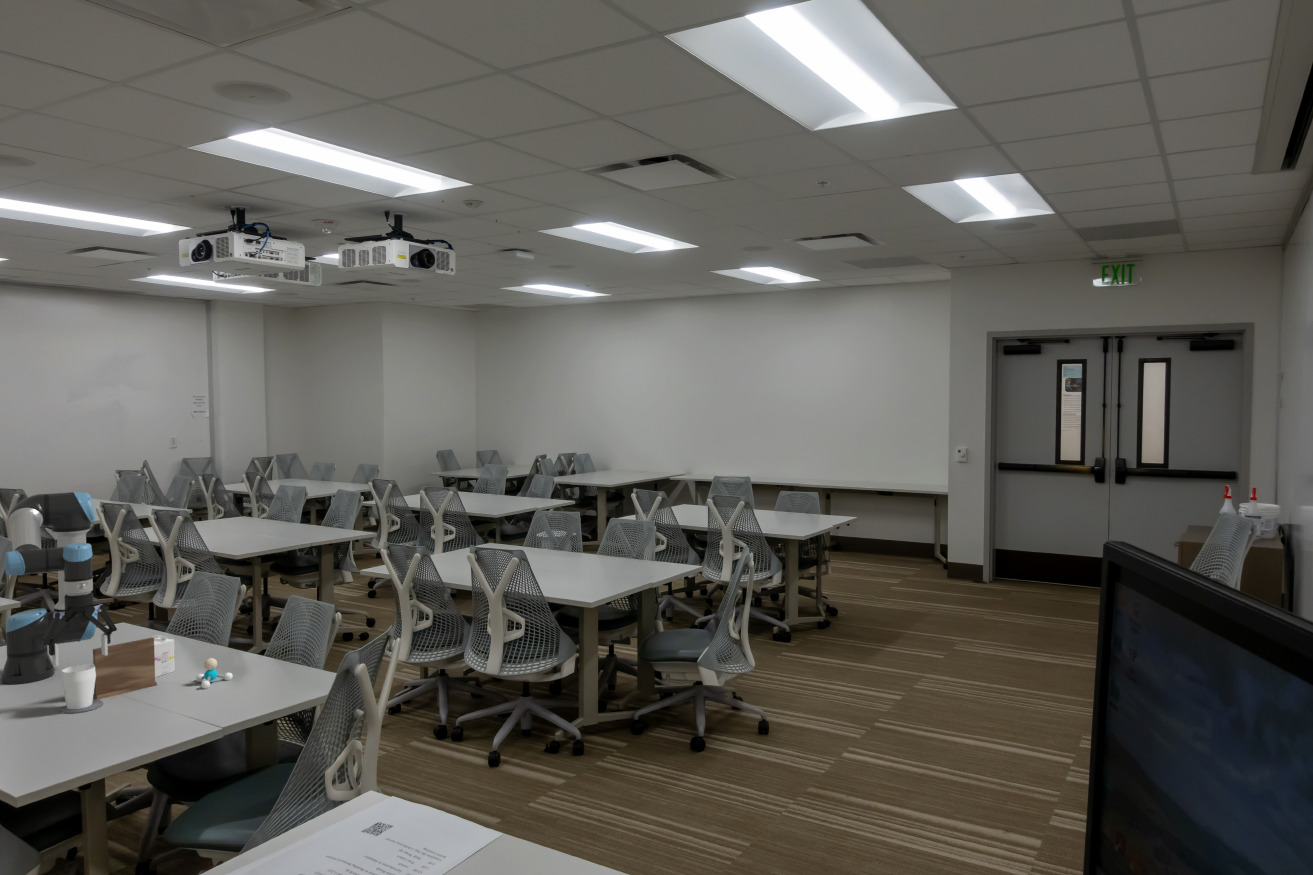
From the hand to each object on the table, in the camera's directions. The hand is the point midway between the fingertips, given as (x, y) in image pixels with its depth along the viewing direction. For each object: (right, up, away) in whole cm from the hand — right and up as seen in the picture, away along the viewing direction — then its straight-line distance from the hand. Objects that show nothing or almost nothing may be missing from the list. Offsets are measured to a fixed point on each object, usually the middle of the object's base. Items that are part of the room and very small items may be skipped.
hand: (80, 659), depth 272 cm
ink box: (+3, -14, +36) cm, 38 cm away
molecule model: (+29, -15, +25) cm, 41 cm away
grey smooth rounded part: (0, -15, 0) cm, 15 cm away
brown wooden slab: (+4, -15, +16) cm, 22 cm away
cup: (0, -15, 0) cm, 15 cm away
